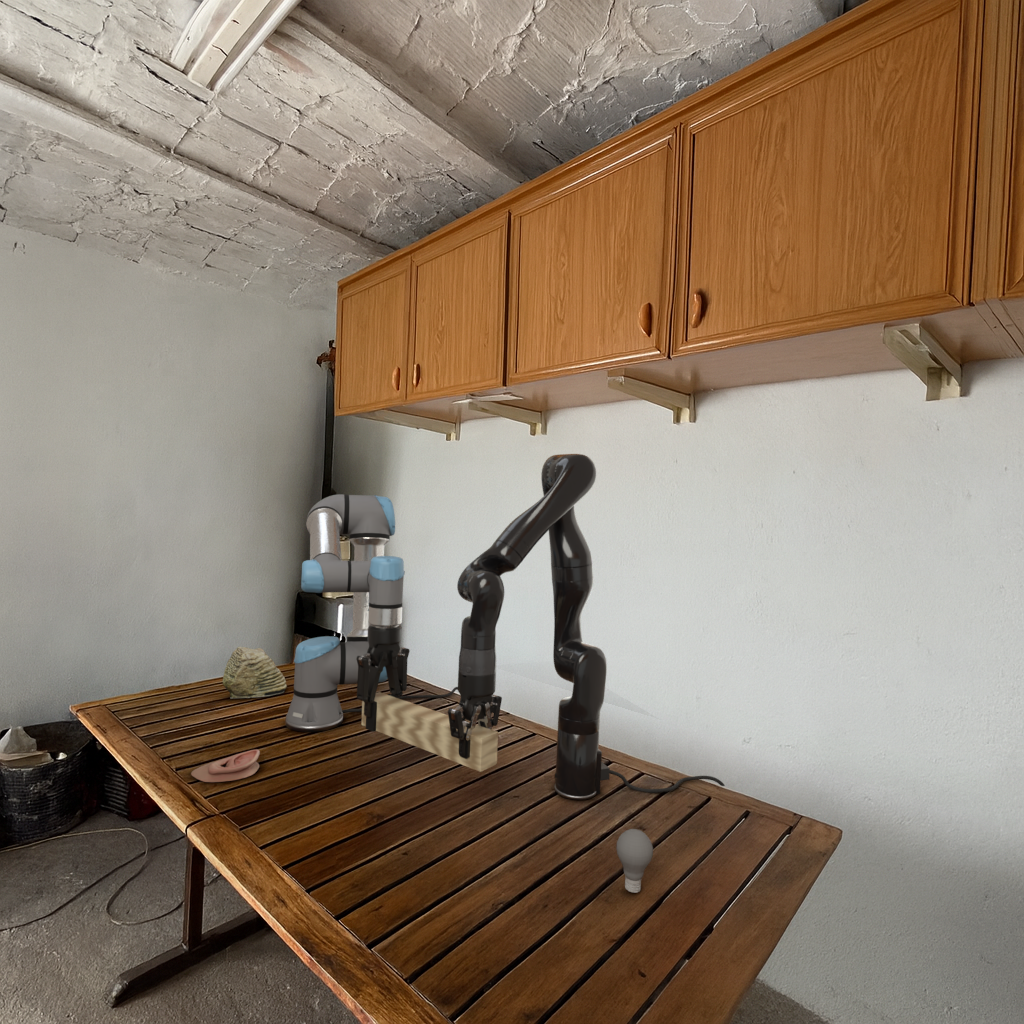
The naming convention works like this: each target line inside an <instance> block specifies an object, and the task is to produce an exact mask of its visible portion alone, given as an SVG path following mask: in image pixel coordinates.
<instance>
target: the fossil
mask: <svg viewBox="0 0 1024 1024" xmlns="http://www.w3.org/2000/svg"><path fill="white" fill-rule="evenodd" d="M222 676H223V677H222V685H223V687H224V688H225V690H226V691H228V693H229V698H230V699H250V698H264V697H271V696H275V695H281V694H284V693H285V691H286V689H287V687H288V686H287V680H286V678H285V676H284V674H283V673H282V672H281V669H279V668H278V667H277V665H276V663H275V662H274V660H273V659H272V658H271V657H270V656H269V655H268V654H267V653H266V652H265V650H264V649H263V648H260V647H258V648H251V647H247V646H246V647H245V646H238V647H237V648H236V649H235V650H233V651H232V653H231V656H230V657H229V659H228V660H227V663H226V666H225V668H224V671H223V675H222Z"/></svg>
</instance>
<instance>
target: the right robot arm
mask: <svg viewBox="0 0 1024 1024" xmlns="http://www.w3.org/2000/svg"><path fill="white" fill-rule="evenodd" d="M540 479H541V488H542V494H543V496H542V497H541V498H540V499H539V500H538V501H537V502H535V503H534V504H533V505H532V506H530V507H528V509H526V510H525V511H524V512H522V513H521V514H519V515H518V516H516V517H515V518H514V519H513V520H512V521H511V522H509V524H508V525H507V526H506V527H505V528H504V529H503V531H502V532H500V534H499V536H498V537H497V538H496V539H495V540H494V542H493V543H492V545H491V546H490V547H488V549H485V551H483V552H482V553H480V555H478V556H477V557H476V558H475V559H474V560H472V561H471V562H470V563H469V564H468V565H467V566H466V567H465V568H464V569H463V570H462V572H461V574H460V575H459V577H458V580H457V585H456V588H457V589H456V590H457V592H458V595H459V596H460V597H461V598H462V599H463V600H465V602H468V603H469V602H470V603H472V604H471V605H472V606H471V611H470V614H469V615H468V616H466V617H465V618H463V620H462V623H461V628H460V630H461V631H460V649H459V655H458V668H457V669H458V672H457V687H458V690H457V692H458V693H459V695H460V700H459V702H458V706H456V707H454V708H452V707H450V708H449V709H448V710H447V715H448V716H449V723H450V731H451V736H452V737H455V738H458V739H459V755H460V757H462V758H465V759H467V758H469V757H470V737H471V733H472V729H474V728H475V726H476V725H479V726H482V727H485V728H488V729H491V730H493V727H496V726H497V725H498V724H499V723H498V722H499V717H500V711H501V706H502V700H503V697H502V696H501V695H497V694H495V692H496V685H497V681H496V680H497V661H498V660H497V659H498V658H497V627H498V623H499V619H500V617H501V613H502V609H503V607H504V606H503V605H504V601H505V595H506V591H505V590H506V589H505V584H504V580H503V578H502V577H501V576H502V575H503V574H504V575H505V574H507V573H512V572H514V571H516V570H517V569H518V568H519V567H520V566H521V565H522V563H523V562H524V561H525V559H526V558H527V557H528V556H529V554H530V553H531V552H532V551H533V549H534V548H535V547H536V545H537V544H538V543H539V542H540V540H541V539H542V538H543V537H544V536H545V535H546V533H548V538H549V550H550V551H549V552H550V572H551V585H552V596H553V597H552V598H553V599H552V600H553V617H554V618H553V619H554V620H553V621H554V622H553V625H554V626H553V653H552V656H553V657H552V658H553V659H552V660H553V667H554V670H555V672H556V674H557V675H558V676H559V678H561V679H563V680H564V681H566V682H570V683H572V684H573V687H572V694H571V695H569V696H566V697H563V698H561V699H560V700H559V702H558V713H557V715H558V717H557V738H556V756H555V757H556V758H555V772H554V791H555V793H556V794H558V795H559V796H560V797H562V798H564V799H568V800H572V801H584V800H585V801H586V800H590V799H592V798H594V797H596V795H601V782H602V781H609V780H610V775H612V776H613V775H614V776H615V777H618V778H620V779H621V780H622V782H623V783H624V785H625V786H626V787H627V788H629V789H631V790H633V791H636V792H637V791H638V792H642V793H643V792H644V793H649V794H658V793H659V794H660V793H668V792H673V791H674V790H676V789H678V787H680V785H681V784H683V783H684V782H689V781H696V780H697V781H699V780H708V781H713V782H715V783H717V784H718V785H719V786H721V787H725V786H726V785H725V784H724V783H723V781H721V780H720V779H719V778H718V777H714V776H711V775H694V776H687V777H683V778H680V779H679V780H678V781H676V783H675V784H674V785H672V786H670V787H662V788H642V787H638V786H634V785H632V784H631V783H630V782H629V781H628V780H627V778H626V777H625V775H623V774H621V773H620V772H618V771H615V770H612V769H611V768H610V766H609V767H608V766H607V765H606V764H605V763H604V762H603V761H602V759H603V752H602V750H601V749H599V747H600V746H599V743H600V725H601V724H600V722H601V721H600V720H601V710H602V707H603V705H604V701H605V697H606V696H605V695H606V685H607V676H608V675H607V674H608V662H607V657H606V653H605V652H604V651H603V649H602V648H600V647H598V646H596V645H593V644H590V643H587V642H584V640H583V636H582V617H583V612H584V610H585V607H586V605H587V603H588V601H589V599H590V598H591V597H590V596H591V594H592V591H593V588H594V581H595V580H594V565H593V563H594V562H593V554H592V550H591V547H590V546H589V544H588V543H589V542H588V541H587V539H586V536H585V535H584V533H583V531H582V529H581V527H580V525H579V522H578V519H577V515H576V509H575V505H576V504H577V503H579V502H580V501H581V500H582V499H583V498H584V497H585V496H586V495H587V494H588V493H589V492H590V491H591V490H592V488H593V487H594V485H595V483H596V480H597V467H596V465H595V463H594V461H593V460H592V459H591V457H589V456H588V455H585V454H581V453H563V454H554V455H551V456H549V457H548V458H546V460H545V461H544V463H543V465H542V469H541V478H540ZM492 714H493V716H492ZM466 721H467V722H466ZM468 722H470V723H468ZM477 723H478V724H477ZM465 726H466V727H467V730H466V733H464V729H465Z"/></svg>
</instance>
